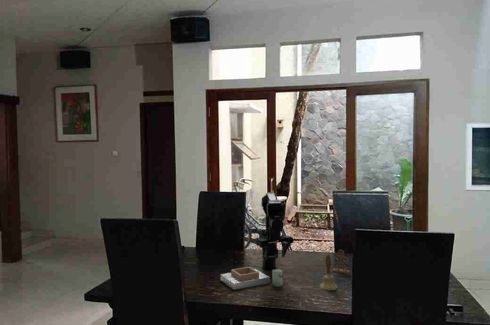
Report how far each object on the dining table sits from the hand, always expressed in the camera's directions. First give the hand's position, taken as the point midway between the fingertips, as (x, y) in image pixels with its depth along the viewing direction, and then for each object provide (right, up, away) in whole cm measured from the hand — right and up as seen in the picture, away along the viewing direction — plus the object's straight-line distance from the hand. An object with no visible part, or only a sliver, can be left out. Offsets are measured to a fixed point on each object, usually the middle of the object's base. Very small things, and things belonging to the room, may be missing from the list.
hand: (275, 258), depth 201 cm
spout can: (+1, -13, 0) cm, 13 cm away
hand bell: (+26, -13, -4) cm, 29 cm away
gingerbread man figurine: (+37, -12, +20) cm, 44 cm away
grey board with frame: (-15, -13, +6) cm, 21 cm away
